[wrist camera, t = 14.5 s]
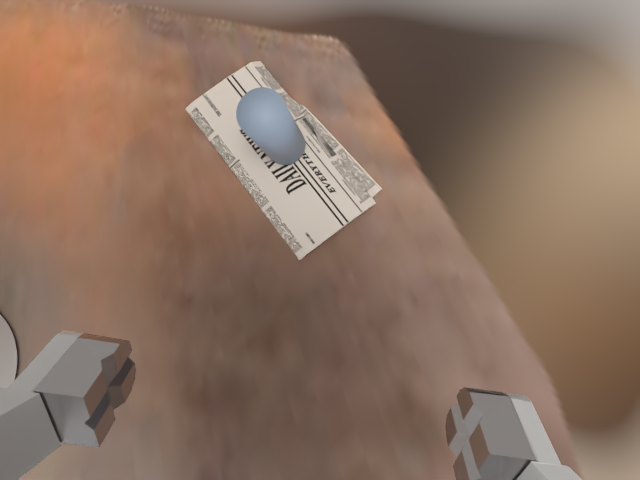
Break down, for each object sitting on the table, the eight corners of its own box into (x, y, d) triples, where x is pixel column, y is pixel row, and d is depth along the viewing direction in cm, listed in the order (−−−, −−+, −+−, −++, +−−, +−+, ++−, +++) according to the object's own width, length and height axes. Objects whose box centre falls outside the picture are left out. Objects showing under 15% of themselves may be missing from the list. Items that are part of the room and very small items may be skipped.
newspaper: (386, 197, 43) (389, 191, 40) (300, 262, 42) (298, 260, 39) (269, 55, 46) (266, 41, 43) (187, 112, 45) (179, 101, 42)
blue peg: (263, 162, 41) (232, 134, 32) (269, 123, 41) (241, 84, 33) (301, 167, 41) (280, 140, 32) (308, 128, 41) (289, 89, 32)
